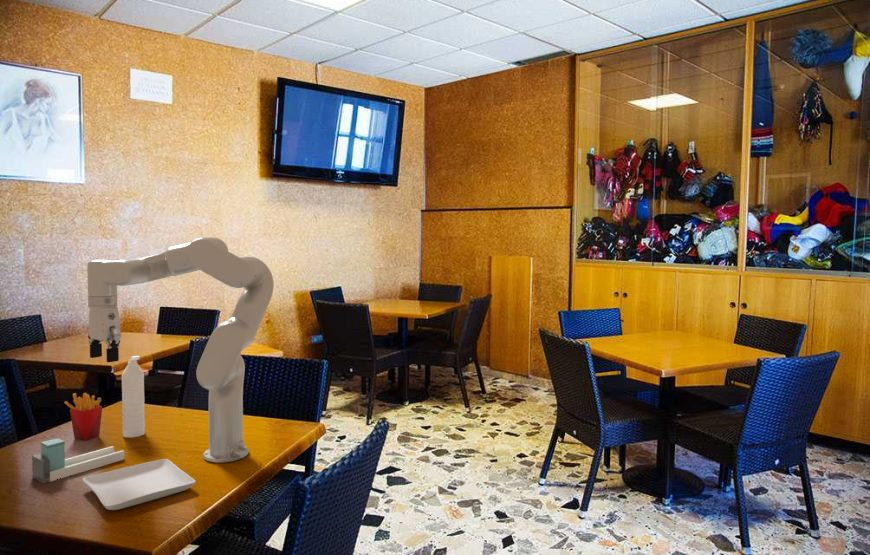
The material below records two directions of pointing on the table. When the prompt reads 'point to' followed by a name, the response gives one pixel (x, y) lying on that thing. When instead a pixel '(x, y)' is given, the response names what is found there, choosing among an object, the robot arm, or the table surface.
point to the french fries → (85, 417)
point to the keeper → (54, 453)
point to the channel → (74, 464)
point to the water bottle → (133, 399)
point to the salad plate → (138, 483)
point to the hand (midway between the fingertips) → (104, 359)
